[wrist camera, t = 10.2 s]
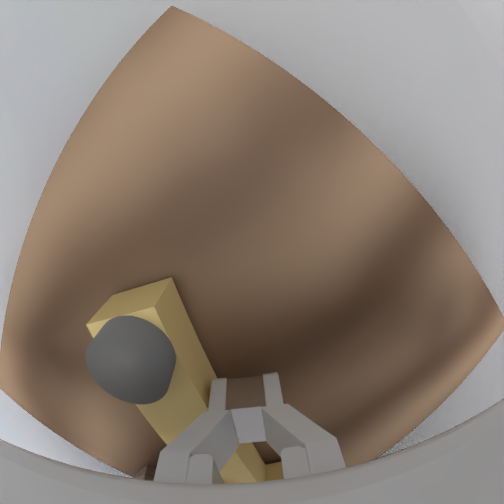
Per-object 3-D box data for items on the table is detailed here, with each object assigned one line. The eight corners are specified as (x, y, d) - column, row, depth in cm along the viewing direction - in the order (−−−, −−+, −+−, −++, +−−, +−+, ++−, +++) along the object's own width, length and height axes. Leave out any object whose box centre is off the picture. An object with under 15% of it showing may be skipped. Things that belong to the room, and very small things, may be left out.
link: (313, 494, 14) (321, 530, 11) (229, 508, 14) (230, 543, 11) (223, 261, 9) (216, 306, 6) (77, 305, 9) (32, 349, 6)
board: (495, 315, 12) (553, 360, 7) (268, 506, 16) (273, 559, 11) (177, 20, 8) (138, -70, 3) (6, 376, 12) (-35, 426, 7)
